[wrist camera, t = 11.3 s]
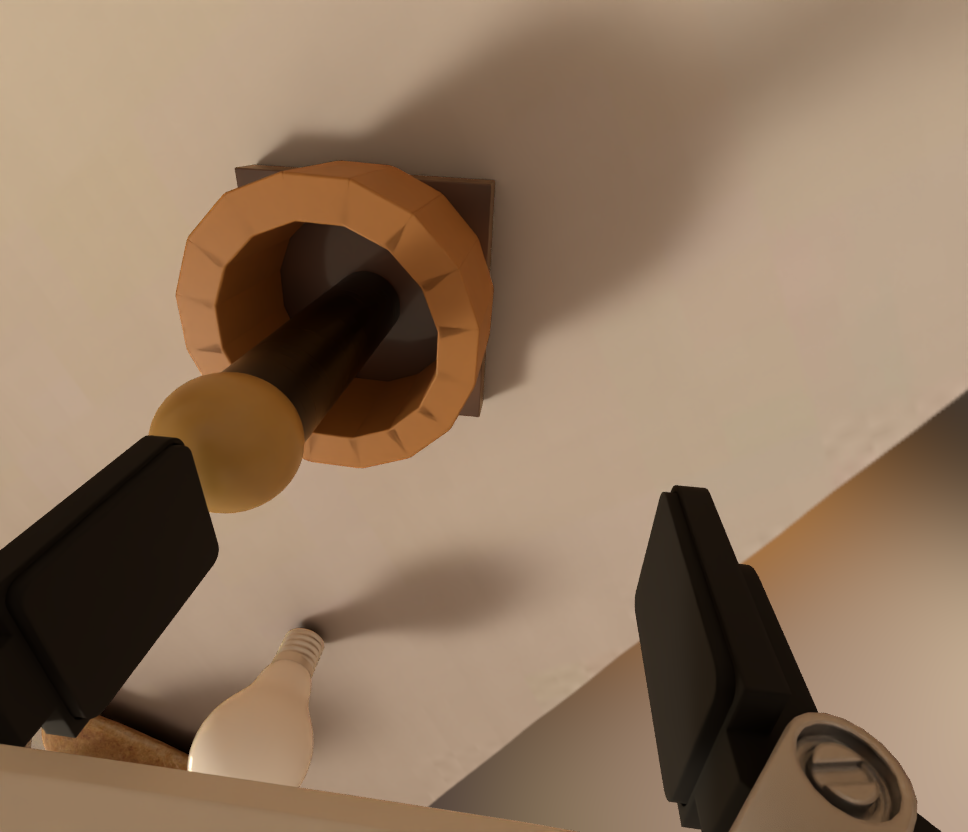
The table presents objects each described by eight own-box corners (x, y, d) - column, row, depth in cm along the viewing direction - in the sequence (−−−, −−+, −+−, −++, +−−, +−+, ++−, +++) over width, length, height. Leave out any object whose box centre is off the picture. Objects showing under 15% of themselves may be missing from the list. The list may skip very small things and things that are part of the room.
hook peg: (325, 260, 22) (90, 406, 11) (406, 266, 22) (252, 422, 10) (332, 338, 24) (135, 535, 12) (408, 344, 23) (277, 551, 12)
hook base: (253, 164, 22) (234, 167, 21) (495, 180, 21) (491, 184, 20) (286, 382, 27) (271, 397, 25) (483, 401, 26) (479, 417, 25)
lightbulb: (338, 598, 34) (256, 784, 25) (365, 663, 37) (301, 852, 28) (249, 602, 35) (137, 780, 26) (281, 664, 38) (192, 846, 29)
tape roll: (232, 149, 20) (145, 157, 16) (504, 176, 20) (491, 192, 15) (265, 392, 25) (206, 448, 21) (482, 419, 25) (467, 483, 20)
